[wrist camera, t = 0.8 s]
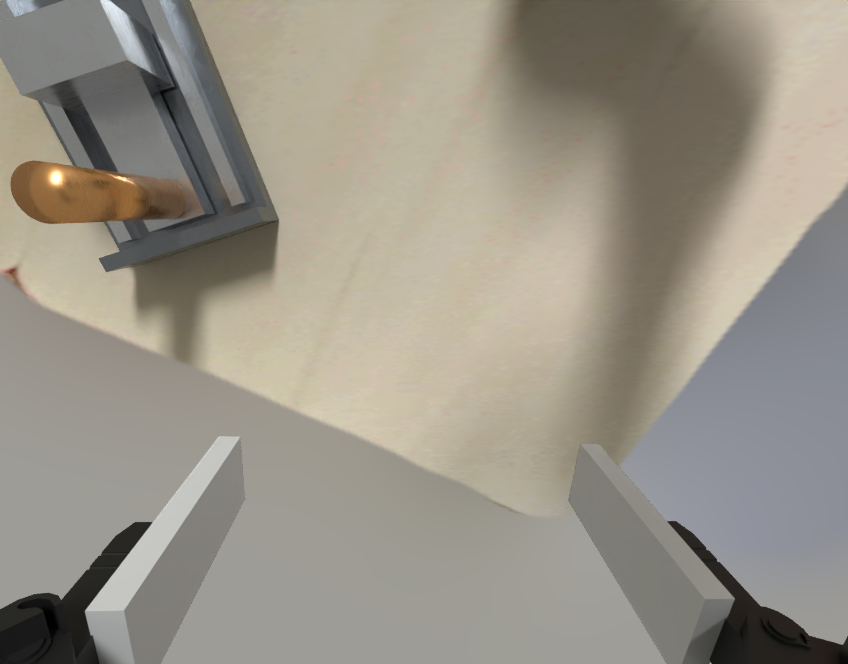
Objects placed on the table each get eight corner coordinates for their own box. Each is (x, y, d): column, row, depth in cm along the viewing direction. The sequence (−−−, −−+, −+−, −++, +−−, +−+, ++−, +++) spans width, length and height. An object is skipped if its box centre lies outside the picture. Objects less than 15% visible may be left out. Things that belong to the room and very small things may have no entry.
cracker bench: (-124, -235, 27) (-361, -440, 19) (66, -302, 27) (-85, -539, 18) (141, 264, 38) (69, 279, 30) (279, 219, 38) (245, 222, 29)
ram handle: (59, 61, 31) (-192, -52, 18) (149, 30, 31) (-34, -106, 18) (148, 235, 35) (0, 250, 22) (228, 209, 35) (129, 208, 22)
